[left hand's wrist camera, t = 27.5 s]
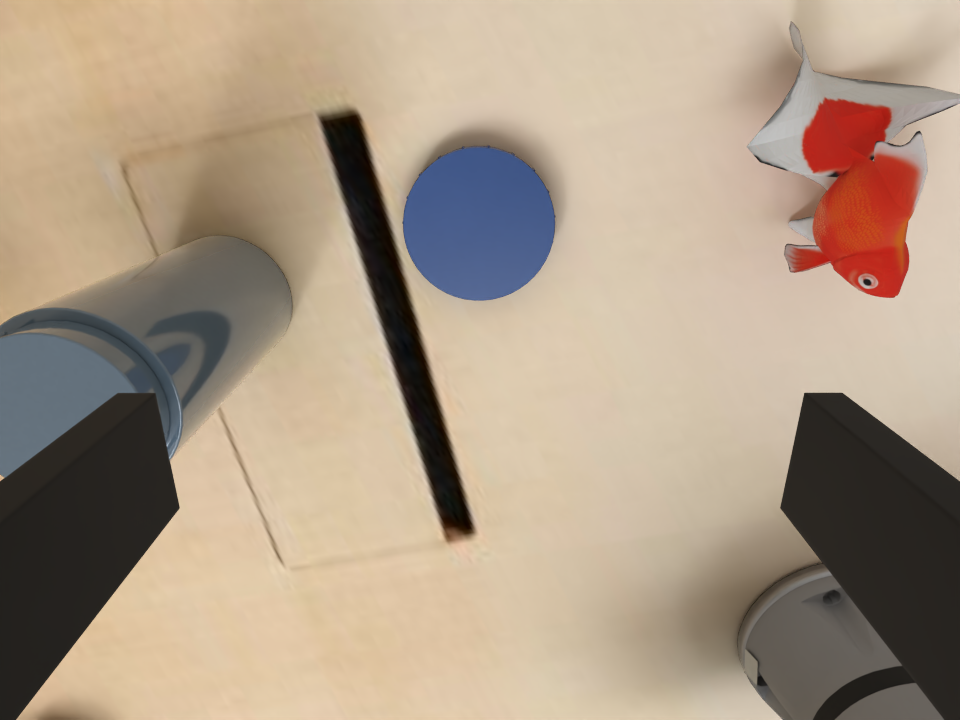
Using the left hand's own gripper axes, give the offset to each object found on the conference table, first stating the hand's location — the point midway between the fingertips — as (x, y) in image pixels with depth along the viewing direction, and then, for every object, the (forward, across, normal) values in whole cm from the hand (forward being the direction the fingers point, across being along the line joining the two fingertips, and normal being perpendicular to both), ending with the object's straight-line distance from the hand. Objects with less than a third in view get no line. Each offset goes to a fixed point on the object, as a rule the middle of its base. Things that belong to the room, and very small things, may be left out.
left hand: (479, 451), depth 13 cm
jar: (+29, +17, +5) cm, 34 cm away
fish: (+29, -20, -4) cm, 35 cm away
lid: (+28, 0, 0) cm, 28 cm away
